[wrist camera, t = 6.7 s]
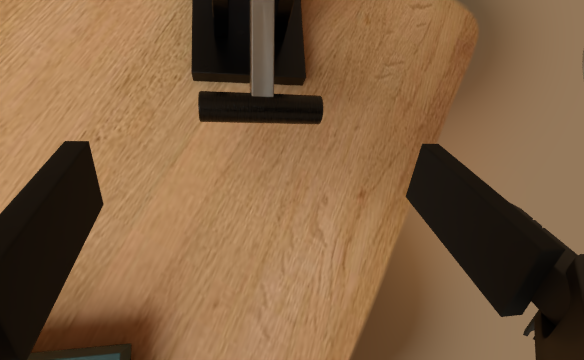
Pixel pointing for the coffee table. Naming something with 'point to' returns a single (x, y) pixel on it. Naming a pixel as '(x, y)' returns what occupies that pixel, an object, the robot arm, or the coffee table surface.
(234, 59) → the bracket
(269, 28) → the lever
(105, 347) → the control block
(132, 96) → the coffee table surface
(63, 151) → the robot arm
